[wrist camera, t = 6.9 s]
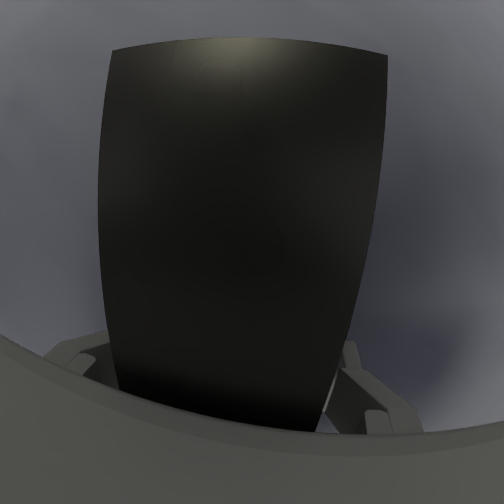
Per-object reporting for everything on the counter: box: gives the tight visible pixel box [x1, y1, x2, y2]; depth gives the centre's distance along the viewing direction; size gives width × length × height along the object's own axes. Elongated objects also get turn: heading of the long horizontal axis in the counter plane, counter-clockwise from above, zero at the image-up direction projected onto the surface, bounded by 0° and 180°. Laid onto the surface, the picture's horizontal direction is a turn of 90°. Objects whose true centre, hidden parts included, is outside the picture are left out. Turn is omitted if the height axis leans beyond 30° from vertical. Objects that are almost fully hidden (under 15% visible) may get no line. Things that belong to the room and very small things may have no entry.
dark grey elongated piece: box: [98, 37, 388, 432], centre depth 10 cm, size 24×4×7 cm, turn 174°
